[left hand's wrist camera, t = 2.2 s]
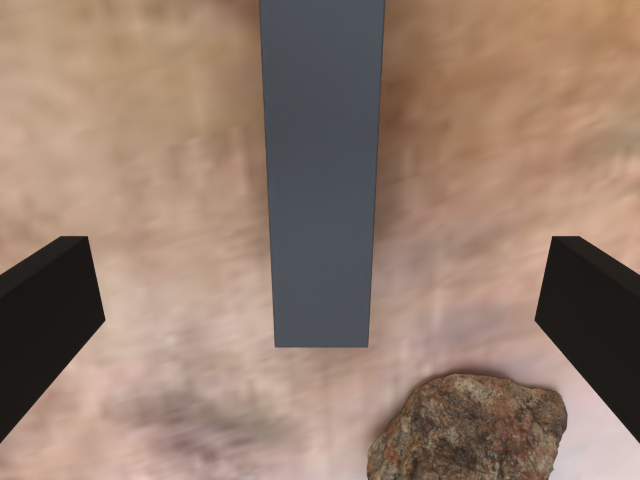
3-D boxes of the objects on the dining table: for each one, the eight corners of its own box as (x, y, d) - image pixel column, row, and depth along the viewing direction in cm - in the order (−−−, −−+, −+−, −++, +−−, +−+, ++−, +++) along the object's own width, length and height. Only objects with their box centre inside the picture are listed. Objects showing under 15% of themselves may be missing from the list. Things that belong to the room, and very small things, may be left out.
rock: (529, 469, 35) (571, 369, 31) (601, 588, 27) (668, 473, 23) (354, 465, 33) (376, 359, 30) (376, 591, 25) (411, 468, 22)
